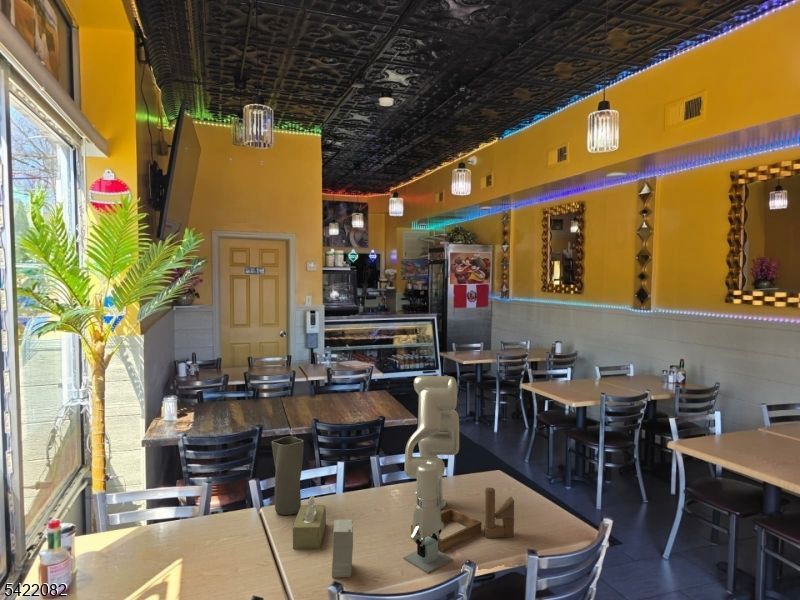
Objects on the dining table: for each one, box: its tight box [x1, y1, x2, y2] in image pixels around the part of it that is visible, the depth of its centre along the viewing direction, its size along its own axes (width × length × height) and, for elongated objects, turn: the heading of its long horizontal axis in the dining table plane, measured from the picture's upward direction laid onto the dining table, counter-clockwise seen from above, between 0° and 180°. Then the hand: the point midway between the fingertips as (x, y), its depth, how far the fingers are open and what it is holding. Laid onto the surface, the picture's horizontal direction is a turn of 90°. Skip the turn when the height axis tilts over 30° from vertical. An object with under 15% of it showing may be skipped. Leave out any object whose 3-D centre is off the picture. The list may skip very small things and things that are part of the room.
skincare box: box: [331, 519, 354, 578], centre depth 169 cm, size 8×7×16 cm
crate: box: [410, 508, 482, 553], centre depth 194 cm, size 16×22×4 cm
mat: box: [402, 550, 453, 574], centre depth 176 cm, size 12×12×1 cm
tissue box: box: [292, 495, 327, 550], centre depth 193 cm, size 19×10×16 cm, turn 2°
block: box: [418, 536, 438, 563], centre depth 176 cm, size 5×5×6 cm
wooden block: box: [483, 487, 515, 539], centre depth 193 cm, size 4×11×18 cm, turn 96°
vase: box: [271, 436, 304, 516], centre depth 214 cm, size 12×12×30 cm
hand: (427, 551), depth 176 cm, fingers open, 5 cm apart
